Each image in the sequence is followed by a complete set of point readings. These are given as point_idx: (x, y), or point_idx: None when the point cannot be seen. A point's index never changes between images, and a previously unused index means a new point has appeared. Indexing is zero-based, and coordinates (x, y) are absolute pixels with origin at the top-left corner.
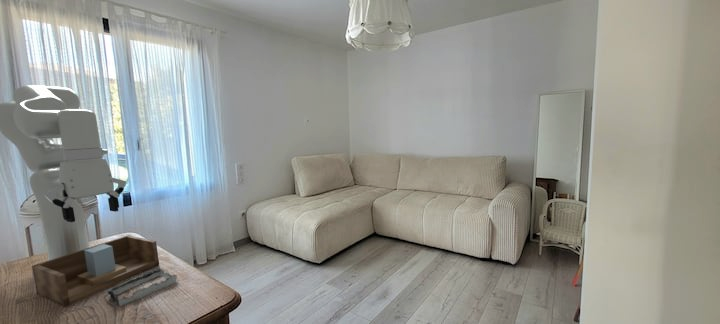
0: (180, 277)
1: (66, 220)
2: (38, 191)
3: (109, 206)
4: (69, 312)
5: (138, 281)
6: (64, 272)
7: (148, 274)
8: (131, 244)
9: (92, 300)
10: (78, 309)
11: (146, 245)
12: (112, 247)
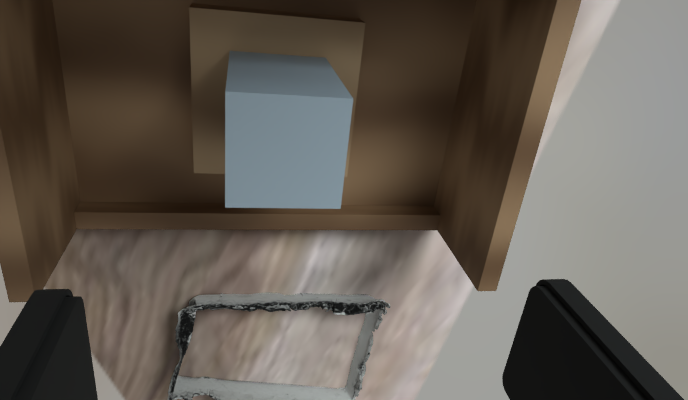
0: (376, 374)
1: (36, 298)
2: None
3: (565, 326)
4: (66, 268)
5: (297, 299)
6: None
7: (336, 311)
8: (516, 40)
9: (149, 256)
10: (93, 276)
11: (481, 216)
12: (338, 204)
